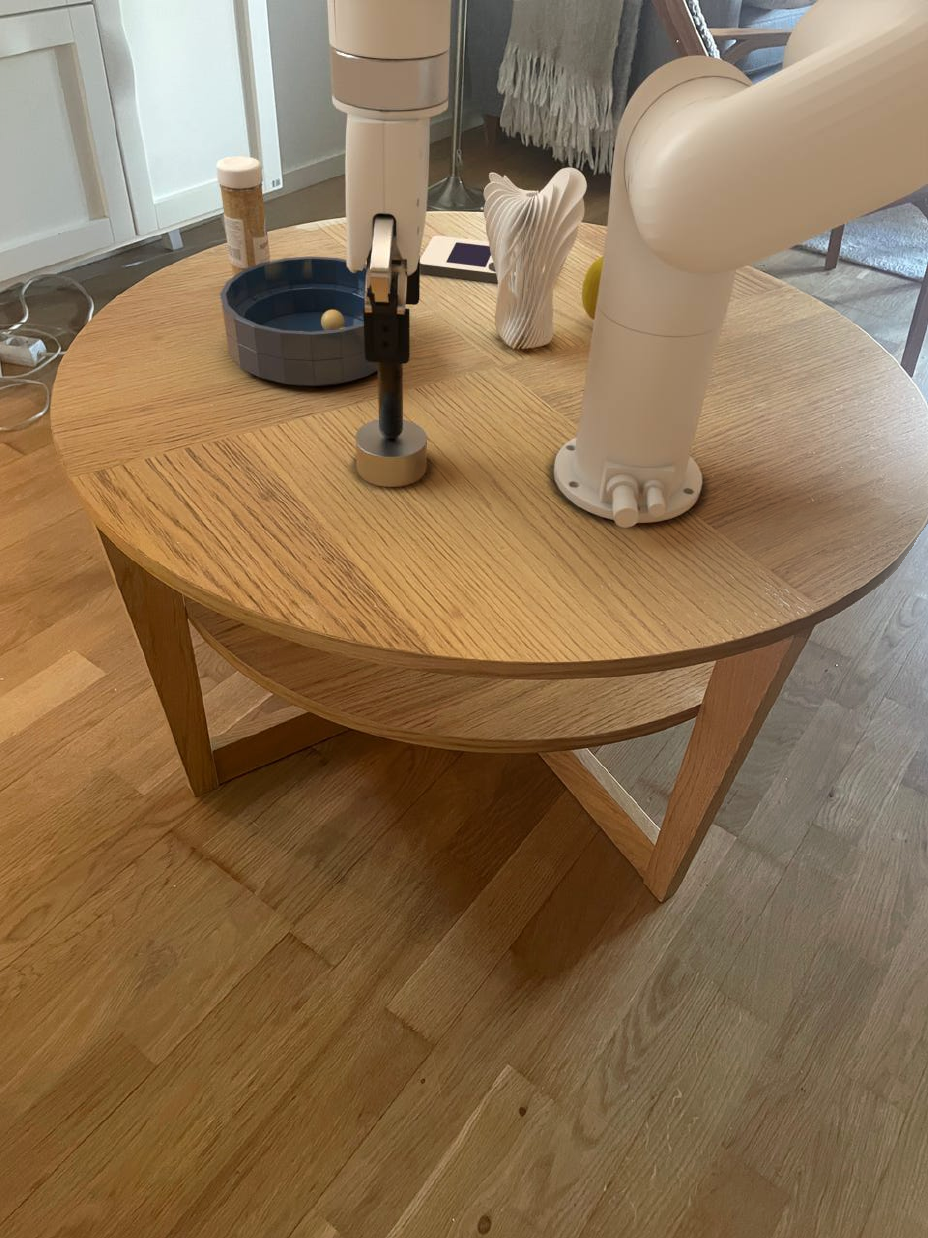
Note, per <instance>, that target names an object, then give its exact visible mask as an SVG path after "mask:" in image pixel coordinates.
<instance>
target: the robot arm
mask: <svg viewBox="0 0 928 1238" xmlns="http://www.w3.org/2000/svg"><path fill="white" fill-rule="evenodd" d="M515 1H516V2H517V1H520V0H514V2H515ZM326 4H327V26H328V43H329V46H328V47H329V63H330V64H329V65H330V82H331V99H332V101H331V102H332V105H333V106H334V108H335V109H336V110H337V111H340V112H342V113H344V114H346V127H345V129H346V130H345V160H344V161H345V164H344V165H345V166H344V167H345V168H344V169H345V227H346V228H345V233H346V236H345V238H346V239H345V241H346V242H345V243H346V245H345V246H346V249H345V250H346V260H347V267H348V269H349V270H350V271H351V272H352V273H356V272H357V270H361V271H363V268H364V266H365V264H366V286H365V306H364V308H363V319H364V345H365V359H366V360H367V361H369V362H379V363H397V364H403V365H406V364H407V363H409V361H410V353H411V352H410V351H411V350H410V345H411V344H410V339H411V338H410V337H411V336H410V333H411V331H410V328H411V327H410V325H411V324H410V320H411V319H410V318H411V317H410V315H411V314H410V308H406V306H407V305H411V306H416V305H418V304H419V302H420V295H421V294H420V293H421V290H420V287H421V284H420V283H421V282H420V281H421V277H420V276H421V273H420V258H421V250H422V245H423V244H422V243H423V239H424V232H425V227H426V217H427V208H428V195H429V176H430V142H431V140H430V139H431V136H430V134H431V118H432V117H435V116H438V115H440V114H442V113H443V112H446V111H447V110H448V108H449V95H450V93H449V92H450V51H451V50H450V47H451V21H452V20H451V15H452V0H326ZM927 184H928V0H816V1H814V3H812V5H810V7H809V8H808V9H807V10H806V11H805V12H804V13H803V15H802V16H801V17H800V18H799V20H798V21H797V23H796V25H794V28H793V29H792V31H791V33H790V35H789V37H788V40H787V42H786V44H785V49H784V52H783V58H782V65H781V70H779V71H778V72H776V73H773V74H771V75H770V76H768V77H766V78H764V79H762V80H759V81H758V82H756V83H753V81H751V79H750V78H749V77H748V76H747V75H746V74H745V73H744V72H743V71H741V70H740V69H739V68H738V67H736V66H735V65H733V64H732V63H730V62H728V61H725V60H724V59H720V58H718V57H714V56H710V55H709V56H708V55H688V56H687V55H686V56H683V57H679V58H676V59H674V60H672V61H669V62H667V63H665V64H663V65H662V66H660V67H658V68H656V70H654V71H653V72H652V73H650V75H648V76H647V77H646V78H645V79H644V80H643V81H642V83H640V84H639V86H638V87H637V88H636V90H635V91H634V93H633V94H632V96H631V98H630V99H629V101H628V103H627V105H626V107H625V109H624V111H623V114H622V116H621V119H620V122H619V126H618V129H617V132H616V138H615V143H614V150H613V158H612V167H611V177H610V192H609V203H608V213H607V214H608V215H607V223H606V225H607V226H606V234H605V243H604V250H603V256H604V257H603V264H602V271H601V278H600V285H599V292H598V297H597V304H596V311H595V318H594V320H593V324H592V333H591V339H590V346H589V353H588V360H587V366H586V373H585V378H584V386H583V393H582V400H581V407H580V413H579V419H578V426H577V434H576V437H574V438H572V439H570V440H568V441H567V442H566V443H564V444H562V446H561V447H560V448H559V451H558V452H557V453H556V456H555V459H554V464H553V465H554V466H553V478H554V482H555V484H556V486H557V488H558V489H559V491H560V492H561V493H562V494H563V495H564V497H566V498H567V499H568V500H569V501H570V502H572V504H574V505H575V506H577V507H579V508H581V509H582V510H584V511H586V512H588V513H590V514H592V515H595V516H597V517H600V518H604V519H608V520H612V521H613V522H614V523H615V525H616V526H618V527H619V528H623V529H628V528H632V527H634V526H635V525H636V524H648V523H659V522H663V521H666V520H667V521H668V520H671V519H673V518H676V517H678V516H681V515H683V514H684V513H685V512H688V510H690V509H691V508H692V507H693V506H695V504H696V502H697V501H698V499H699V497H700V494H701V490H702V486H703V474H702V471H701V469H700V467H699V465H698V463H697V462H696V460H695V459H694V458H693V457H692V456H691V453H692V449H693V445H694V442H695V437H696V433H697V430H698V426H699V423H700V417H701V414H702V410H703V406H704V401H705V398H706V394H707V390H708V385H709V382H710V378H711V374H712V370H713V367H714V362H715V358H716V354H717V351H718V346H719V342H720V339H721V334H722V329H723V326H724V323H725V320H726V316H727V312H728V308H729V304H730V300H731V296H732V293H733V288H734V284H735V283H734V282H735V277H736V274H737V270H738V269H740V268H743V267H748V266H750V265H752V264H755V263H757V262H761V261H763V260H765V259H768V258H770V257H772V256H774V255H778V254H779V253H782V252H784V251H786V250H788V249H791V248H793V247H795V246H798V245H800V244H802V243H804V242H807V241H809V240H811V239H813V238H815V237H818V236H820V235H823V234H825V233H827V232H829V231H832V230H834V229H836V228H838V227H840V226H843V225H845V224H847V223H849V222H852V221H854V220H856V219H858V218H861V217H863V216H865V215H867V214H870V213H872V212H874V211H877V210H879V209H881V208H884V207H886V206H888V205H890V204H892V203H894V202H897V201H898V200H900V199H902V198H904V197H907V196H908V195H911V194H913V193H914V192H917V191H918V190H920V189H921V188H923V187H924V186H926V185H927ZM391 278H398V289H396V287H395V284H391Z"/></svg>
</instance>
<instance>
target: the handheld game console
mask: <svg viewBox="0 0 928 1238" xmlns="http://www.w3.org/2000/svg"><path fill="white" fill-rule="evenodd" d="M515 257H516V255H515ZM544 268H545V266H544ZM543 272H544V269H543ZM515 273H516V264H515ZM420 274H422V275H429V276H436V277H444V278H451V279H461V280H468V281H476V282H484V283H493V284H498V280H497V275H496V271H495V267H494V263H493V260H492V256H491V252H490V246H489V241H488V240H480V239H471V238H464V237H456V236H447V235H434V236H432V237H431V239H430V241H429V243H428V244H427V246H426V248H425V249H424V251H423V254H422V255H420ZM510 278H511V274H510ZM528 284H529V283H528ZM511 286H512V284H511Z"/></svg>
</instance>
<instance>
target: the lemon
mask: <svg viewBox="0 0 928 1238" xmlns="http://www.w3.org/2000/svg"><path fill="white" fill-rule="evenodd" d="M603 257H604V255H602V256H600V257H598V258H597V259H595V260H594V261H593V262H592V263H591V265H590V266H589V267H588V269H587V271H586V273H585V276H584V278H583V282H582V289H581V303H582V306H583V308H584V311H585V313H586V315H587V316H588V317H590V318H591V319H592V320H593V321H594V318H595V311H596V304H597V297H598V292H599V285H600V278H601V271H602V264H603Z"/></svg>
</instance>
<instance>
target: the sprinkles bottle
mask: <svg viewBox="0 0 928 1238" xmlns="http://www.w3.org/2000/svg"><path fill="white" fill-rule="evenodd" d="M215 168H216V177H217V183H218V184H219V185H218V186H219V188H220V193H221V201H222V209H223V221H224V227H225V228H224V229H225V236H226V242H227V250H228V256H229V262H230V265H231V272H232V273H231V274H232V277H234V276H235V275H236V274H238V273H239V272H241V271H243V270H245V269H248V268H250V267H253V266H255V265H258V264H260V263H265V262H269V261H271V254H270V245H269V236H268V228H267V218H266V215H265V204H264V196H263V181H264V176H263V168H262V163H261V162H260V160H258V159H257V158H254V157H251V156H250V157H249V156H243V155H239V156H238V155H237V156H235V155H234V156H228V157H224V158H221V159H220V160H218V161H217V162H216V164H215Z"/></svg>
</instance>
